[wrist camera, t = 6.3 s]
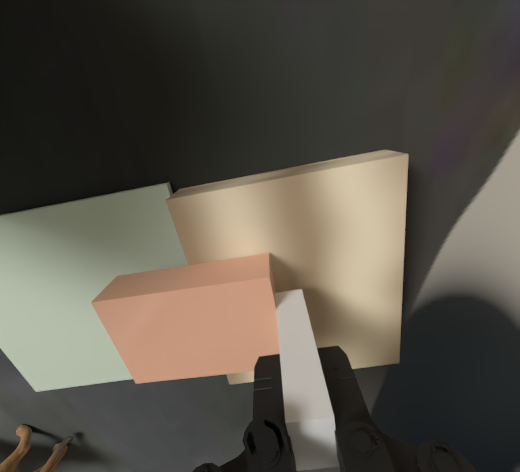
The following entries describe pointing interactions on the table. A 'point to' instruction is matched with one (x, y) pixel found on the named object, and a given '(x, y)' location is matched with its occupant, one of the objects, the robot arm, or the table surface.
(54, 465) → the lion figurine
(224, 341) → the block
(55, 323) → the mat
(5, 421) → the table surface
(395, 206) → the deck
